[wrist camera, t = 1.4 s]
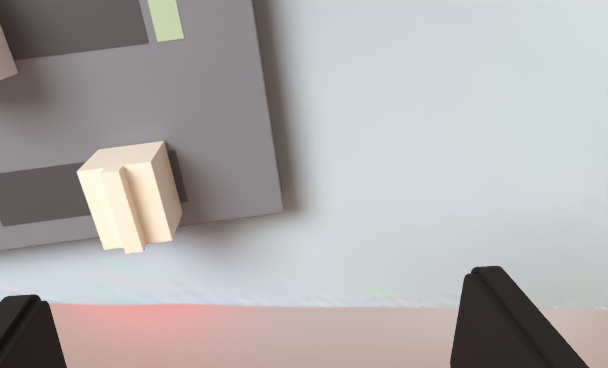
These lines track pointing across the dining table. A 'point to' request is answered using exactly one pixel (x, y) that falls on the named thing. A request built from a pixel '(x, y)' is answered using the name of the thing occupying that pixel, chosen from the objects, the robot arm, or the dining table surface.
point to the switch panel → (132, 108)
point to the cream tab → (132, 195)
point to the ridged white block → (6, 59)
